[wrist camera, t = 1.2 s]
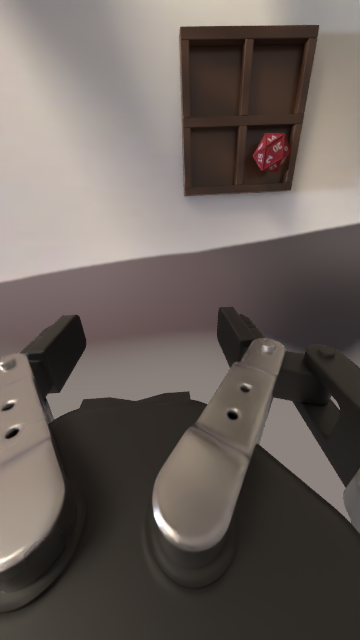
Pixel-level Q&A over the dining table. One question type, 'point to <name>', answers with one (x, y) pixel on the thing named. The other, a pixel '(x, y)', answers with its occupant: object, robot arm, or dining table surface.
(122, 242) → the dining table surface
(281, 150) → the dice
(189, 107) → the holder
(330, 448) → the robot arm
